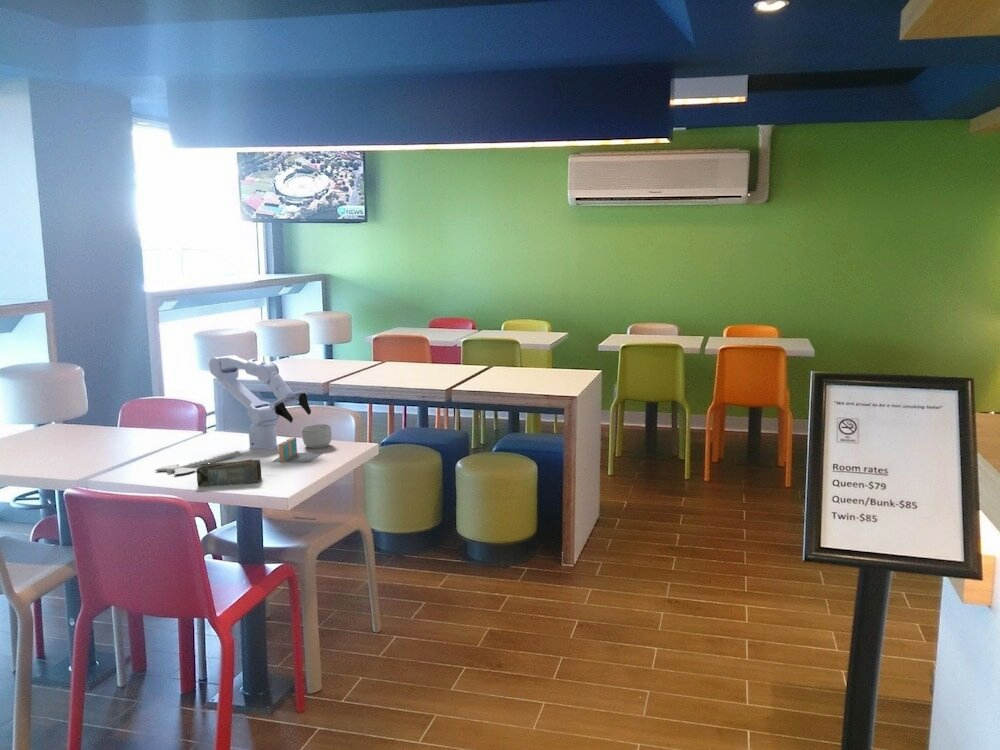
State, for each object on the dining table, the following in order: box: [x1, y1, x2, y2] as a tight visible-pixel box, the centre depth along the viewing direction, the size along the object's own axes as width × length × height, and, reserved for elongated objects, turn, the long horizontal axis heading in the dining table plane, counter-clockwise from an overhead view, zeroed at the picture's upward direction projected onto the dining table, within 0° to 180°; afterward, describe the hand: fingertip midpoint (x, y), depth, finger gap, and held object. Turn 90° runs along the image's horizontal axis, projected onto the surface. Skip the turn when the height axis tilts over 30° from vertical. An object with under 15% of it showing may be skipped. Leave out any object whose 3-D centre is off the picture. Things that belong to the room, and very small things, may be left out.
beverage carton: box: [195, 459, 262, 488], centre depth 272 cm, size 8×19×7 cm, turn 101°
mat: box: [271, 452, 324, 464], centre depth 301 cm, size 14×14×1 cm
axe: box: [154, 450, 241, 476], centre depth 295 cm, size 30×14×2 cm, turn 145°
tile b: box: [278, 440, 289, 463], centre depth 298 cm, size 2×5×6 cm, turn 172°
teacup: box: [300, 423, 332, 449], centre depth 319 cm, size 14×11×8 cm
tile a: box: [286, 436, 298, 457], centre depth 305 cm, size 2×5×6 cm, turn 172°
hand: (300, 416), depth 306 cm, fingers open, 7 cm apart
